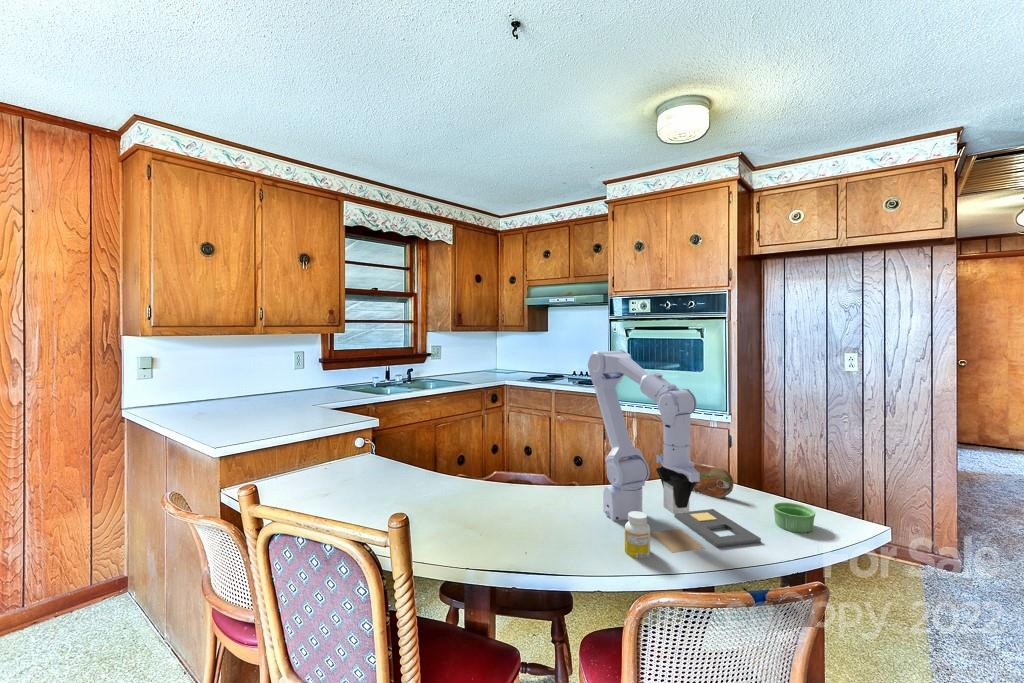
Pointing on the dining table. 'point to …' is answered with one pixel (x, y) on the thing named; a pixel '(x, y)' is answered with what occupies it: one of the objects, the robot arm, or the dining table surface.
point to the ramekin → (794, 517)
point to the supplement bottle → (637, 535)
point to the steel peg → (672, 499)
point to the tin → (713, 481)
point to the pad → (676, 540)
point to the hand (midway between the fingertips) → (676, 503)
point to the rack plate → (714, 520)
